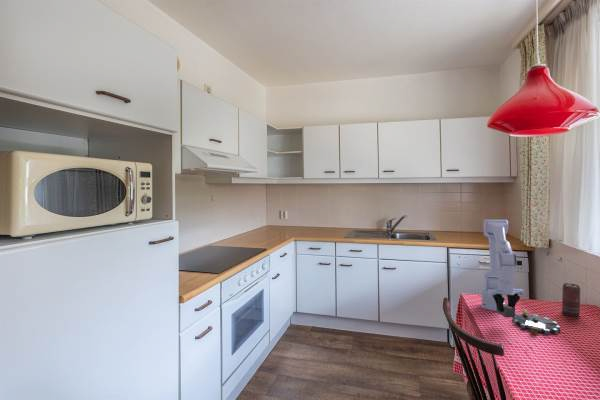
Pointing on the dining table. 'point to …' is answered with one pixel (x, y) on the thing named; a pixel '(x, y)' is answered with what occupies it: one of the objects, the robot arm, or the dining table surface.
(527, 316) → the sprocket
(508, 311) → the gray speaker cabinet
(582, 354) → the dining table surface
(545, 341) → the dining table surface
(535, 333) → the brown rectangular block
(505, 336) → the dining table surface
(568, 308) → the can
